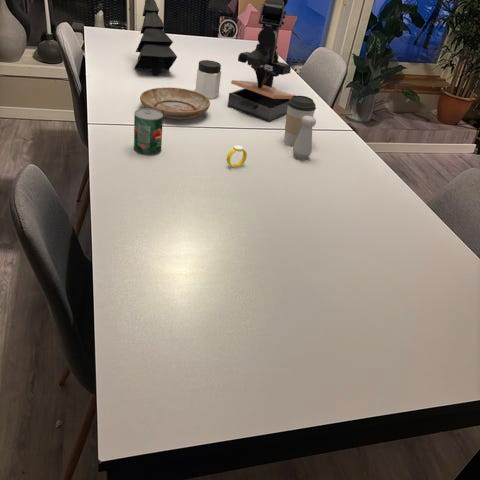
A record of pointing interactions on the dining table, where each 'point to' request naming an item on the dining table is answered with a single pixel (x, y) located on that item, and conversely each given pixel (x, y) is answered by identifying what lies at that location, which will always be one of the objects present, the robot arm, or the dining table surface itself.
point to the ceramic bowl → (175, 102)
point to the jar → (208, 78)
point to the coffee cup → (297, 116)
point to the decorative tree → (154, 42)
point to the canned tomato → (148, 132)
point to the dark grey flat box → (258, 105)
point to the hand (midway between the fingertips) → (260, 87)
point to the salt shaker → (304, 138)
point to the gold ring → (235, 148)
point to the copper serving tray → (262, 89)
